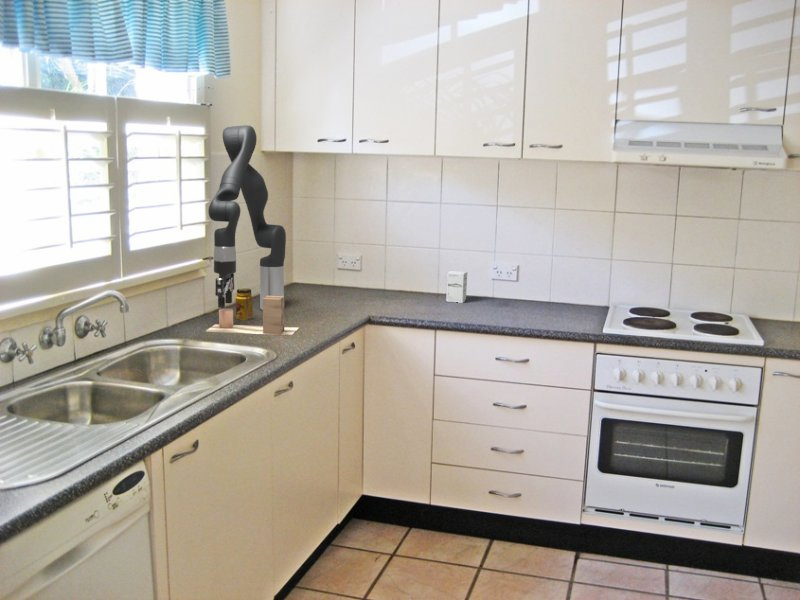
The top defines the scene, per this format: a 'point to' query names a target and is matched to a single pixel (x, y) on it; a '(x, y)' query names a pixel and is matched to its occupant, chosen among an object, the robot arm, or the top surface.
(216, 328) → the birch board
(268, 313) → the walnut block top
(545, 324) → the top surface
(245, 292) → the condiment
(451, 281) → the supplement box
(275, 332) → the walnut block bottom
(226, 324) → the terracotta capsule
